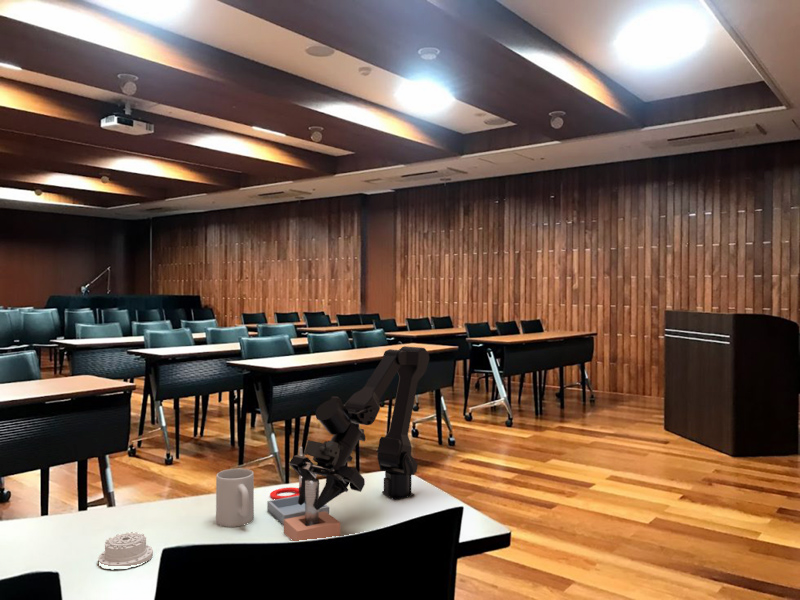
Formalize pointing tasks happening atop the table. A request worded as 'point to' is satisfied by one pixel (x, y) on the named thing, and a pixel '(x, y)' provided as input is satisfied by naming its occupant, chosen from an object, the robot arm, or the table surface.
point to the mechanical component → (126, 550)
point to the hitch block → (311, 527)
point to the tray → (288, 508)
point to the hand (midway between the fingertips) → (307, 506)
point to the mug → (234, 497)
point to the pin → (311, 501)
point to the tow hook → (296, 490)
